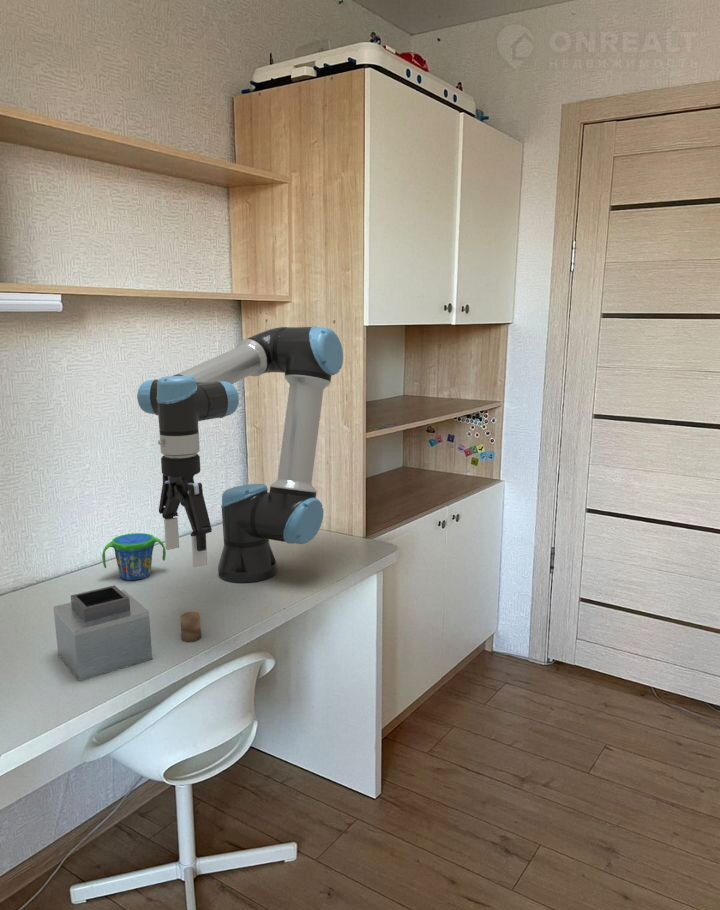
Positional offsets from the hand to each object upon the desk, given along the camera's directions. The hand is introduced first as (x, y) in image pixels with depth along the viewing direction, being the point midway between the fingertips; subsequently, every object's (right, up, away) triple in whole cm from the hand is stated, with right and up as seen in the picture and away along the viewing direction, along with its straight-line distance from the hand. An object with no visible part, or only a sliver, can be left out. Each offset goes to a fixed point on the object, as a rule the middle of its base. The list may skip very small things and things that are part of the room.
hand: (185, 556), depth 146 cm
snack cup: (-23, -11, +40) cm, 47 cm away
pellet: (0, -17, +4) cm, 18 cm away
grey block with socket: (-15, -19, -4) cm, 25 cm away
